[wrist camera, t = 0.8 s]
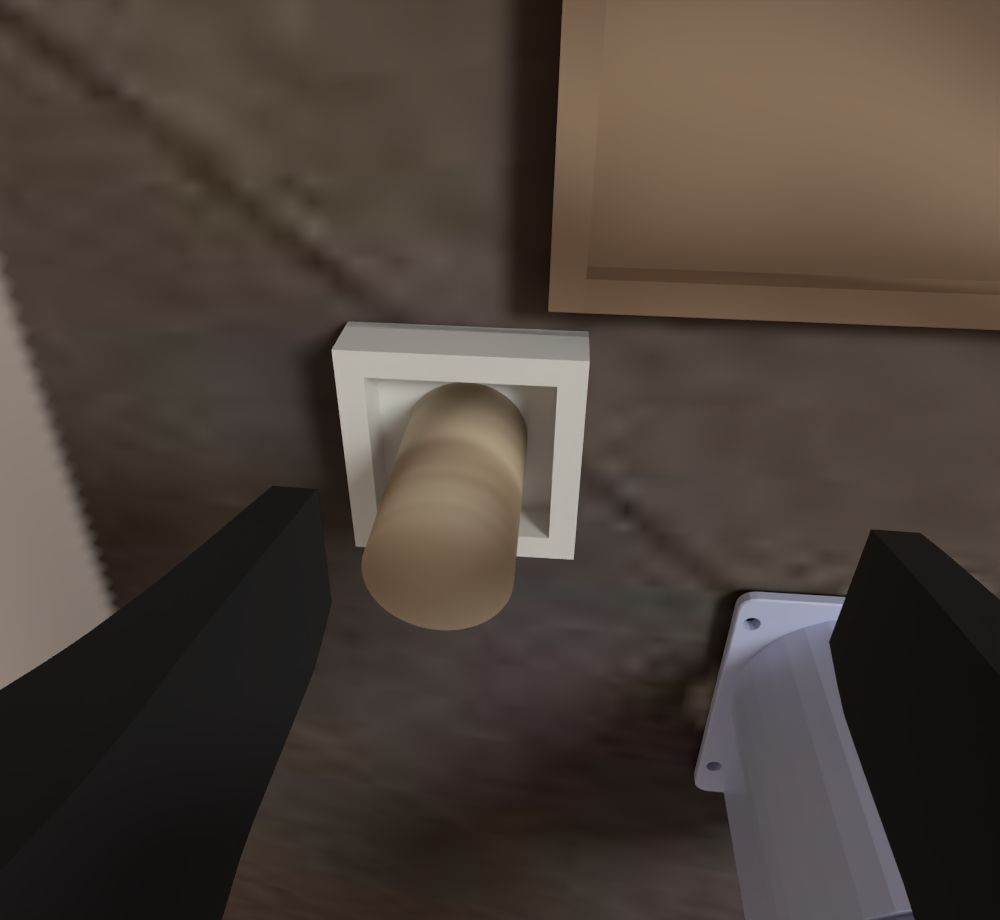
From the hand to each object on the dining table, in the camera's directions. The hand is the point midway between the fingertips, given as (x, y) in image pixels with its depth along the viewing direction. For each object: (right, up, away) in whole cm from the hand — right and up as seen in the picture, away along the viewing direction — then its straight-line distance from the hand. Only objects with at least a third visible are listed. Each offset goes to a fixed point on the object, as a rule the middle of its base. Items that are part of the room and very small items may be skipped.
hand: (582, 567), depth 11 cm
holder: (-2, +2, +11) cm, 11 cm away
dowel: (-2, +2, +10) cm, 11 cm away
